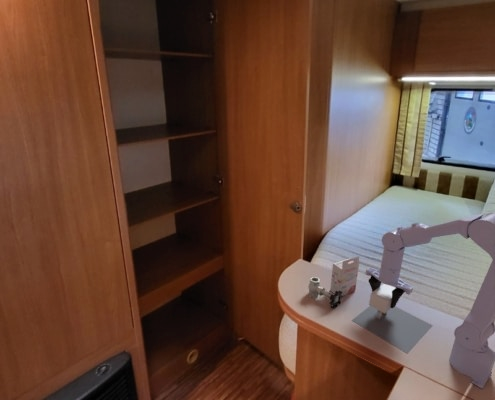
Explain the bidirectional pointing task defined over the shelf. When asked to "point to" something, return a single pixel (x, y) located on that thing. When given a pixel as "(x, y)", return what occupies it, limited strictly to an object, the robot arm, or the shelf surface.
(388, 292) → the block
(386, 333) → the board
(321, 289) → the valve
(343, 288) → the ink cartridge box
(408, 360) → the shelf surface
